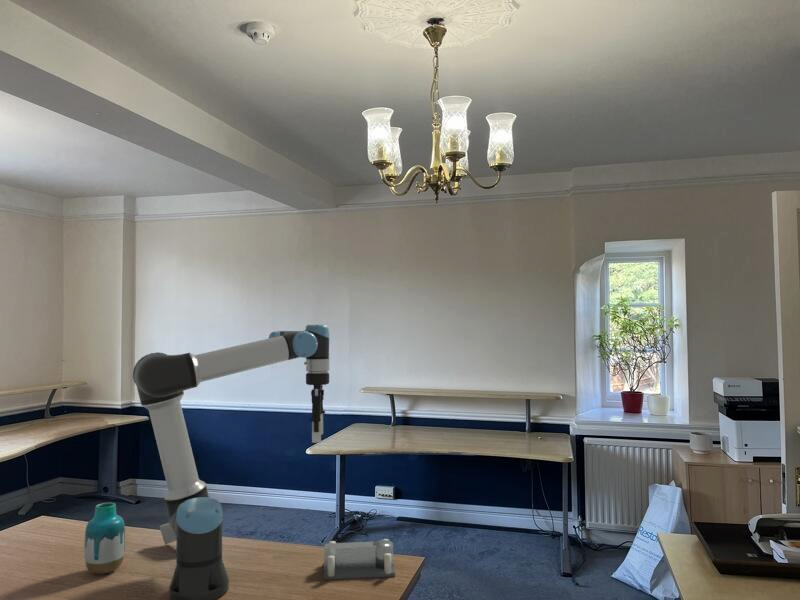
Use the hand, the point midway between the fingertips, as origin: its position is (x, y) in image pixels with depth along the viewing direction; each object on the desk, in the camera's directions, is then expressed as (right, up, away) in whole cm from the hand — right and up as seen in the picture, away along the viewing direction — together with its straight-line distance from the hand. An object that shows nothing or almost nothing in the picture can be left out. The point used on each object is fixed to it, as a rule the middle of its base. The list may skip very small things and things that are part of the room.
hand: (317, 438), depth 188 cm
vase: (-60, -35, -18) cm, 71 cm away
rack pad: (+15, -34, -18) cm, 41 cm away
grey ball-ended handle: (+15, -33, -18) cm, 40 cm away
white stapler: (-49, -33, +1) cm, 60 cm away
